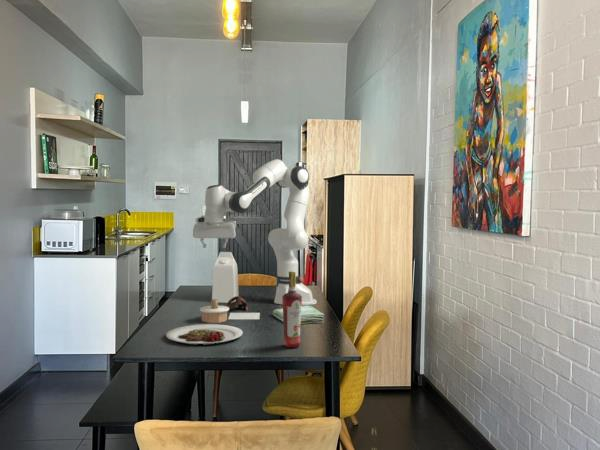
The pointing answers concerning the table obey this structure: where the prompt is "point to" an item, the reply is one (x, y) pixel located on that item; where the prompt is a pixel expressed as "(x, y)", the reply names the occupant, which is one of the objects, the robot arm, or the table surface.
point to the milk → (225, 278)
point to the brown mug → (239, 301)
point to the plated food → (204, 334)
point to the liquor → (292, 314)
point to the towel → (304, 315)
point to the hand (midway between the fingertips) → (214, 247)
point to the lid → (214, 307)
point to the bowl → (214, 317)
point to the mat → (244, 316)
